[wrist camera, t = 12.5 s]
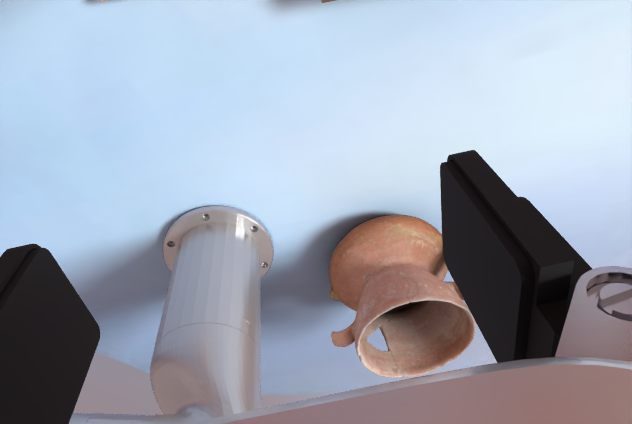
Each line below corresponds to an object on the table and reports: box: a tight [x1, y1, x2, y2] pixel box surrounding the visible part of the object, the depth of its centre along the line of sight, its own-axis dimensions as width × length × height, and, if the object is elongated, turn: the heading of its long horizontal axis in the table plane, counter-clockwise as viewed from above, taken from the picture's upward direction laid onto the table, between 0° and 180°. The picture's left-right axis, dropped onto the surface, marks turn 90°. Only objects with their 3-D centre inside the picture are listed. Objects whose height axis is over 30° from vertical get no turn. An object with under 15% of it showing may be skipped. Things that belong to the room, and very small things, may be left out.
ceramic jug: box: [329, 215, 476, 378], centre depth 51 cm, size 18×14×14 cm
